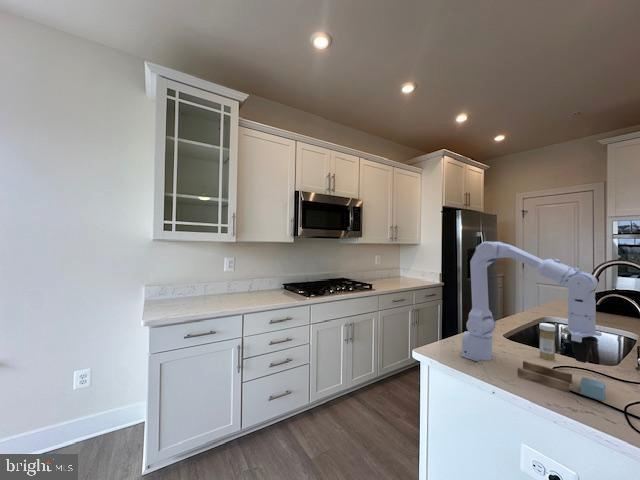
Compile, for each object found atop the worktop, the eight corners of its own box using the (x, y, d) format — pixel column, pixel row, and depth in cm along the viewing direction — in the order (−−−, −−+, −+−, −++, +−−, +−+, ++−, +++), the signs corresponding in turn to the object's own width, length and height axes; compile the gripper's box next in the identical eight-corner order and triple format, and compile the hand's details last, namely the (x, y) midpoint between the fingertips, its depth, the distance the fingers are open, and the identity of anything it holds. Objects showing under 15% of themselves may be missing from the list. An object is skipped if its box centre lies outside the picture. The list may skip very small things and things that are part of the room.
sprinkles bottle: (557, 361, 99) (557, 324, 99) (552, 364, 96) (552, 327, 96) (541, 356, 103) (541, 321, 103) (537, 359, 100) (537, 323, 100)
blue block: (580, 381, 76) (603, 388, 73) (582, 376, 79) (605, 382, 75) (580, 397, 76) (603, 405, 73) (582, 391, 79) (604, 398, 75)
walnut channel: (517, 379, 85) (517, 368, 85) (523, 371, 91) (523, 360, 91) (568, 395, 77) (568, 383, 77) (571, 385, 82) (572, 373, 82)
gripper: (597, 321, 70) (596, 374, 70) (605, 313, 79) (604, 359, 79) (561, 315, 76) (561, 364, 76) (572, 308, 85) (572, 351, 85)
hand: (581, 361), depth 78 cm, fingers closed
